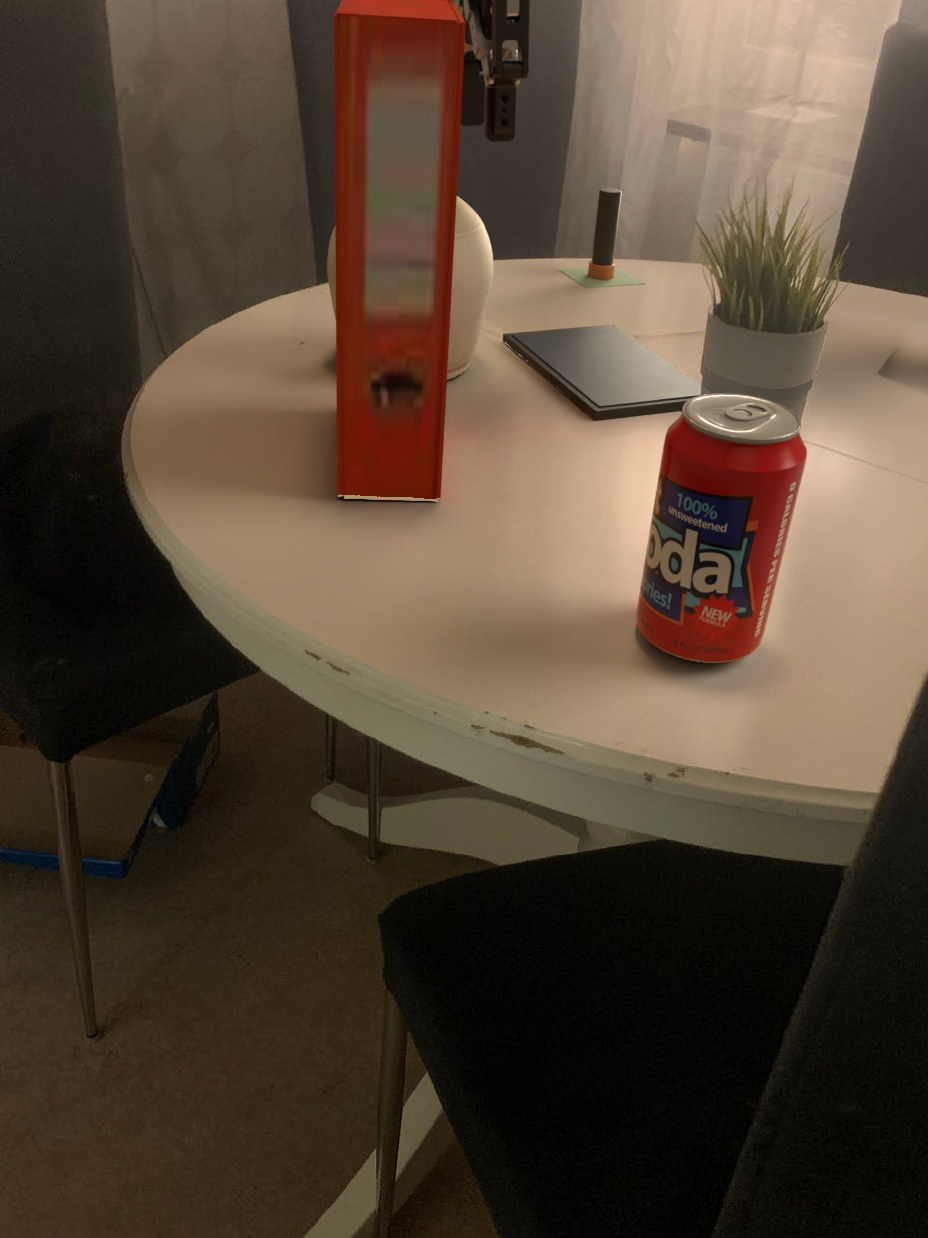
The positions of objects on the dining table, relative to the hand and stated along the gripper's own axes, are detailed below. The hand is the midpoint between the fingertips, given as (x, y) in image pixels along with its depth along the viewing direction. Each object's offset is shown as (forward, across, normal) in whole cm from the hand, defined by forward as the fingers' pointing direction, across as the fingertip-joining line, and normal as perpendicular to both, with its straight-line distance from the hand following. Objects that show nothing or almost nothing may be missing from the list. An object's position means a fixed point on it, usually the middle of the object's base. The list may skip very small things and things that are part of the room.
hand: (484, 132), depth 86 cm
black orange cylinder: (+22, +35, -25) cm, 48 cm away
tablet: (+23, +6, -14) cm, 28 cm away
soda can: (+24, -39, -3) cm, 46 cm away
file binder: (+23, -9, +10) cm, 27 cm away
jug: (+22, +11, +4) cm, 25 cm away
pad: (+22, +35, -25) cm, 49 cm away
